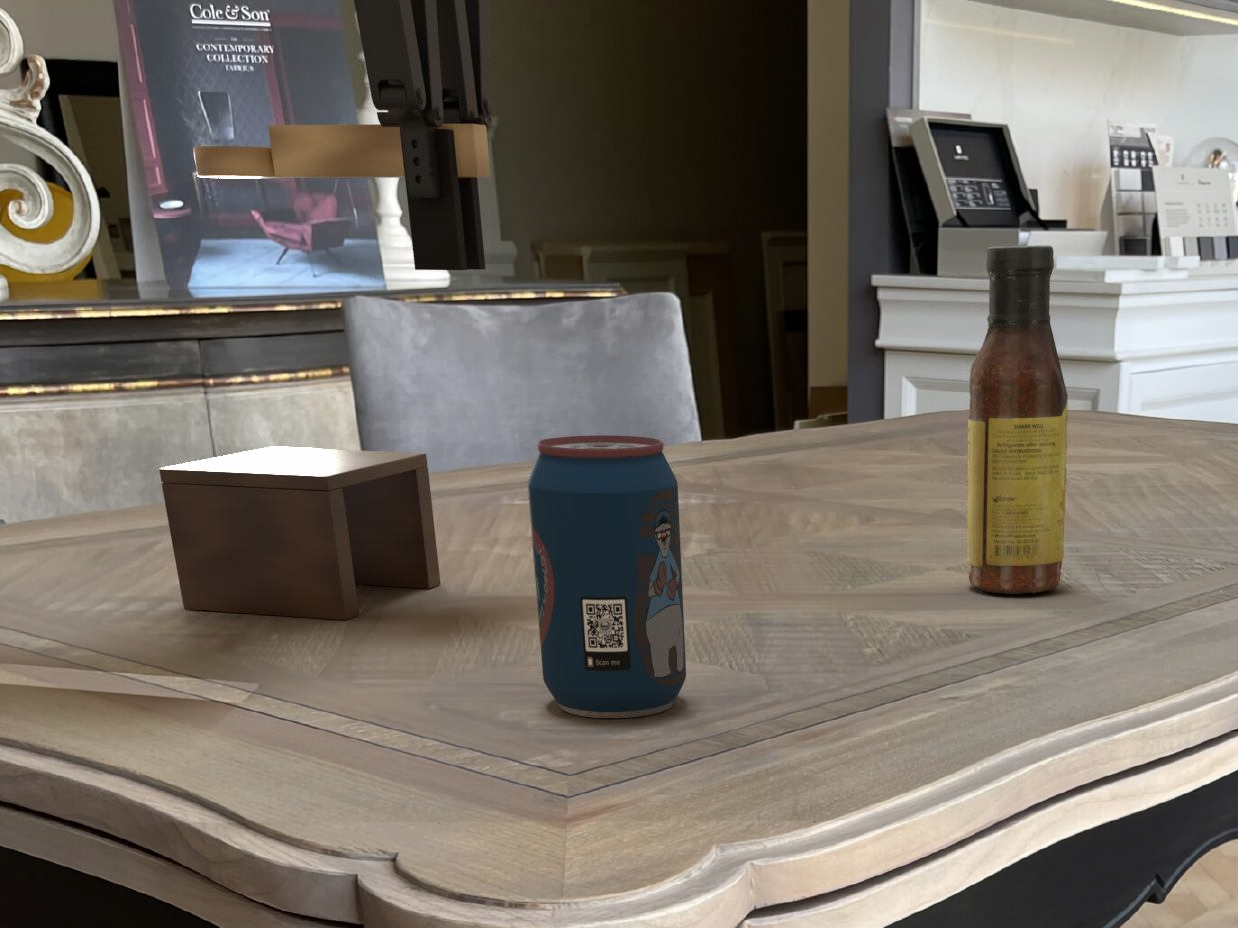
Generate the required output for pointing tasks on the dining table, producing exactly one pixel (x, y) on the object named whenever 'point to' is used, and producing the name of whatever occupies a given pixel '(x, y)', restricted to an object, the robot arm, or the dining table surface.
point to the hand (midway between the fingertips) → (450, 268)
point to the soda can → (608, 574)
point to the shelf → (299, 529)
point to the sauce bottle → (1017, 432)
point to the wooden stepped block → (336, 153)
